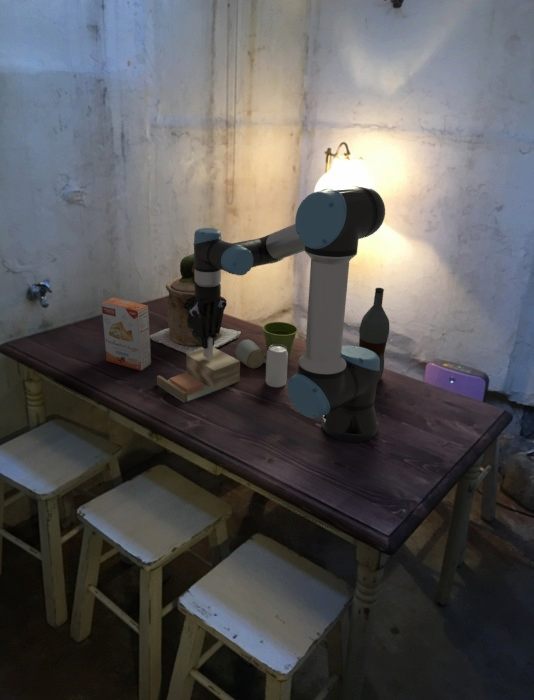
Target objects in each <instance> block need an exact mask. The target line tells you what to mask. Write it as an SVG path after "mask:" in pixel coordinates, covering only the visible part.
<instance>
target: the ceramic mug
mask: <svg viewBox="0 0 534 700" xmlns="http://www.w3.org/2000/svg"><path fill="white" fill-rule="evenodd" d="M234 354H235V357H236V358H237V360H239V361H240V363H243V365H245V366H246V367H248V368H250V369H252V370H253V369H257V368H259V367H261V366H262V365H263V364H266V360H267V354H265V352H264V350H263V349H262V348H261V347H260V346H258V345H257V344H256V343H255V342H254V341H253V340H251V339H243V340H241V341H240V342H239V343H238V344H237V345H236V347H235V349H234Z"/></svg>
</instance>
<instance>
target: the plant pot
mask: <svg viewBox="0 0 534 700" xmlns="http://www.w3.org/2000/svg"><path fill="white" fill-rule="evenodd" d="M262 330H263V332H264V337H265V345H266V346H265V347H266V352H267V351H268V348H269V346H271V345H283V346H285V347H286V348H287V352H288V361H289V359H290V356H291V352H292V348H293V344H294V340H295V338H296V334H297V333H298V331H299V328H298V327H297V326H296V325H295V324H292V323H290V322H286V321H271V322H267V323H265V324H263V325H262Z"/></svg>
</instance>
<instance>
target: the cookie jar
mask: <svg viewBox="0 0 534 700" xmlns="http://www.w3.org/2000/svg"><path fill="white" fill-rule="evenodd" d="M194 268H195V266H194V253H192V254H188V255H187V256H184V257H183V258H182V259H181V261H180V264H179V272H180V277H175V278H172V279H171V280H169V281H168V282H167V283H166V285H165V288H166V289H165V290H166V291H167V292H168V300H167V314H166V319H167V324H168V328H164V329H161V330H160V331H157V332H154V333H152V334H150V340H152V341H154V342H156V343H159V344H162V345H164V346H166V347H168V348H171V349H173V350H176V351H178V352H181V353H183V354H185V355H186V354H189V353H192V352H195V351H198V350H201V349H203V348H202V339H201V338H199V337H197V336H196V334H195V330H194V326H193V322H192V318H191V315H190V314H189V312H188V310H189V309H192V308H193V307H194V306H195V301H196V296H195V283H196V282H195V270H194ZM219 297H220V300H221V301H224V302H226V303H227V299H226V298H225V297H223V296H221V295H220V296H219ZM198 312H199V310H198ZM198 315H199V314H198ZM199 317H200V315H199ZM221 325H223V322H222V323H221ZM241 334H242V333H241V331H240V330H235V329H230V328H225V327H222V326H221V328H220V333H219V334H216V335H217V337H216V338H214V346H213V347H214V348H216V349H217V348H220V347H222V346H224V345H225V344H227V343H230V342H232V341H234V340H236V339H238V338H239V337H240V336H241Z"/></svg>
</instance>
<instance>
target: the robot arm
mask: <svg viewBox="0 0 534 700" xmlns="http://www.w3.org/2000/svg"><path fill="white" fill-rule="evenodd" d="M385 216H386V206H385V202H384V199H383V198H382V197H381V195H380V193H378V192H377V190H374V189H373V188H372V187H369V186H366V185H365V186H364V185H355V186H347V187H337V188H325V189H321V190H319V191H314V192H312V193H310V194H309V195H307V196H306V197H305V198H304V199H303V200H302V201H301V202H300V204H299V206H298V207H297V211H296V214H295V218H294V219H295V220H294V222H295V223H294V224H291V225H289V226H286V227H284V228H282V229H280V230H277V231H274V232H272V233H269V234H267V235H265V236H263V237H259V238H254V239H249V240H243V241H238V242H229V241H228V242H227V241H224V240H222V239H223V238H222V233H221V231H220V230H219V229H218V228H213V227H203V228H202V227H201V228H197V230H195V231H194V233H193V234H194V235H193V236H194V238H193V254H194V266H195V268H194V270H195V282H196V283H195V296H196V301H195V306H194V307H193V308H192V309H189V310H188V312H189V314H190V315H191V318H192V322H193V326H194V330H195V334H196V336H197V337H199V338H201V339H202V348H203V356H205V357H206V358H208V359H210V358H213V346H214V338H216V337H217V335H216V334H219V333H220V328H221V327H222V324H223V318H224V312H225V309H226V307H227V302H224V301H221V300H220V297H219V296H221V295H222V290H221V289H222V286H221V284H222V283H221V282H222V276H221V275H222V271H224V272H226V273H228V274H231V275H236V276H245V275H246V274H247V273H248V272H250V271H251V269H253V268H255V267H259V266H264V265H270V264H275V263H277V262H280V261H282V260H284V259H285V258H288V257H291V256H295V255H297V254H299V253H302V252H305V253H306V254H307V255H308V256H309V258H310V270H309V285H308V286H309V287H308V303H307V319H306V332H305V333H306V334H305V335H306V336H305V351H304V354H302V355H301V356H300V357H299V358H298V363H297V373H295V374H293V375H292V376H291V377H290V378H289V379H288V381H287V384H286V386H287V394H288V398H289V400H290V402H291V403H292V404H293V406H294V408H295V409H296V410H297V411H298V412H299V413H300V414H301V415H302V416H305V417H306V418H310V419H317V418H321V417H322V418H321V428H322V430H323V431H324V432H325V433H326V434H327V435H328V436H330V437H332V438H333V439H336V440H337V441H342V442H345V443H346V442H347V443H362V442H363V443H364V442H366V441H371V440H372V439H373V438H374V437H375V436H376V435H377V433H378V427H379V421H378V419H377V413H376V409H375V408H376V407H375V401H376V393H377V389H378V387H377V386H378V382H377V381H378V375H379V371H380V368H379V366H380V359H379V357H378V355H377V354H376V353H374V352H373V351H371V350H369V349H366V348H363V347H359V345H358V346H357V345H343V338H344V337H343V336H344V325H345V317H346V315H345V313H346V303H347V293H348V292H347V291H348V290H347V289H348V281H349V280H348V279H349V269H350V262H351V260H352V259H353V258H355V257H356V256H357V254H358V247H359V240H360V239H364V238H366V237H369V236H371V235H374V234H375V233H376V232H377V231H378V230H379V229H380V227H382V225H383V223H384V220H385ZM198 310H199V312H198ZM198 314H199V315H200V317H199V315H198ZM221 323H222V324H221Z"/></svg>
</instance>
